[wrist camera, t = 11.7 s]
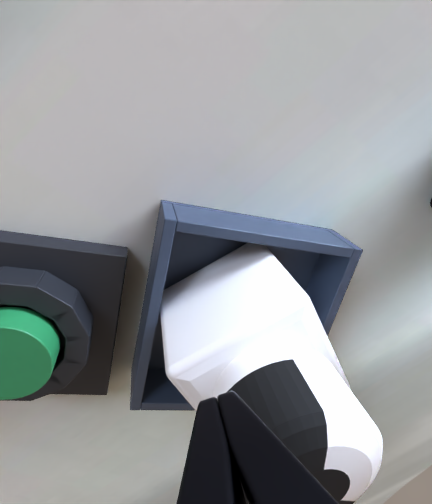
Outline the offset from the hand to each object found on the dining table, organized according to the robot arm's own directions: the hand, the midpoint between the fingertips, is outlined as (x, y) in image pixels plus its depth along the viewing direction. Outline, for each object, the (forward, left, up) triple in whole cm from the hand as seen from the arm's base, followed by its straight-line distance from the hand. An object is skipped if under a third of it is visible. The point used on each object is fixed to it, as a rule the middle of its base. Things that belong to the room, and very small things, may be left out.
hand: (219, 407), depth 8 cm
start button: (+7, +7, -10) cm, 14 cm away
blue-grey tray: (-5, +5, -13) cm, 15 cm away
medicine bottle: (-5, +5, -13) cm, 15 cm away
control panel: (+7, +7, -13) cm, 17 cm away
